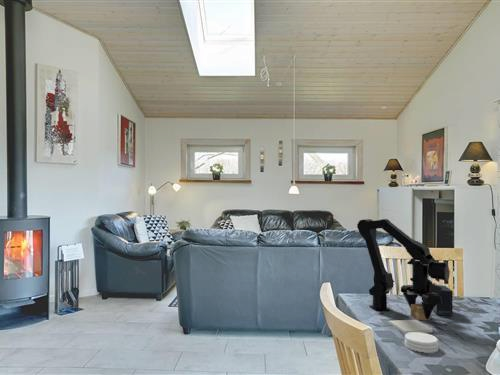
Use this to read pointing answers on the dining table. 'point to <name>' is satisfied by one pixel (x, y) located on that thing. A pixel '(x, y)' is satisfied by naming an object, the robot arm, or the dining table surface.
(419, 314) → the oak cube
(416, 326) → the white board
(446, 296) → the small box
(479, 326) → the dining table surface
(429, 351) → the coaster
